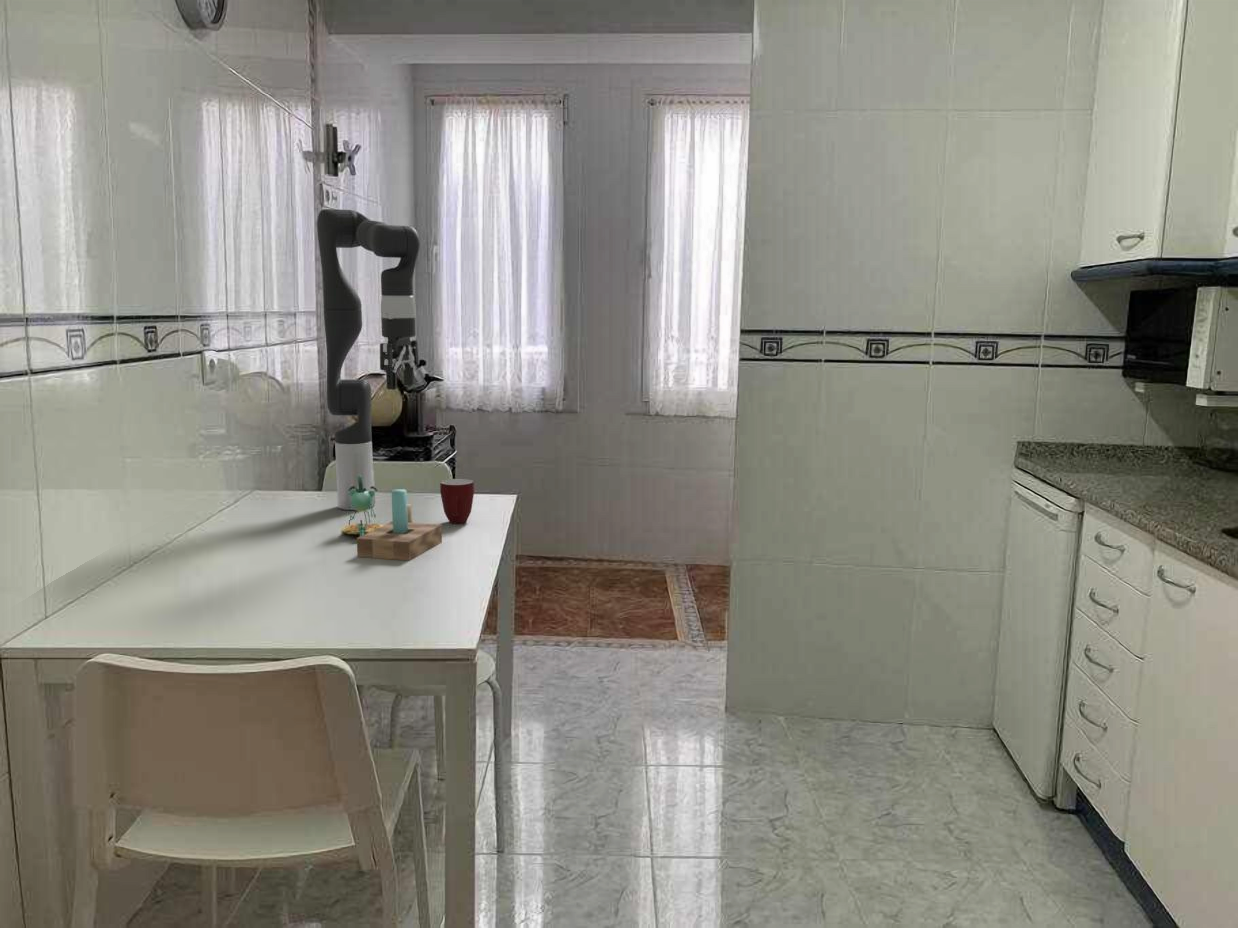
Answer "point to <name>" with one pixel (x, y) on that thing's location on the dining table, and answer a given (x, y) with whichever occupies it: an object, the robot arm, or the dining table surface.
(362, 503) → the teal creature figurine
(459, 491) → the mug
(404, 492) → the long pin
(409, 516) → the short pin
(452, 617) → the dining table surface
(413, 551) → the hole block
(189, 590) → the dining table surface
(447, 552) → the dining table surface
